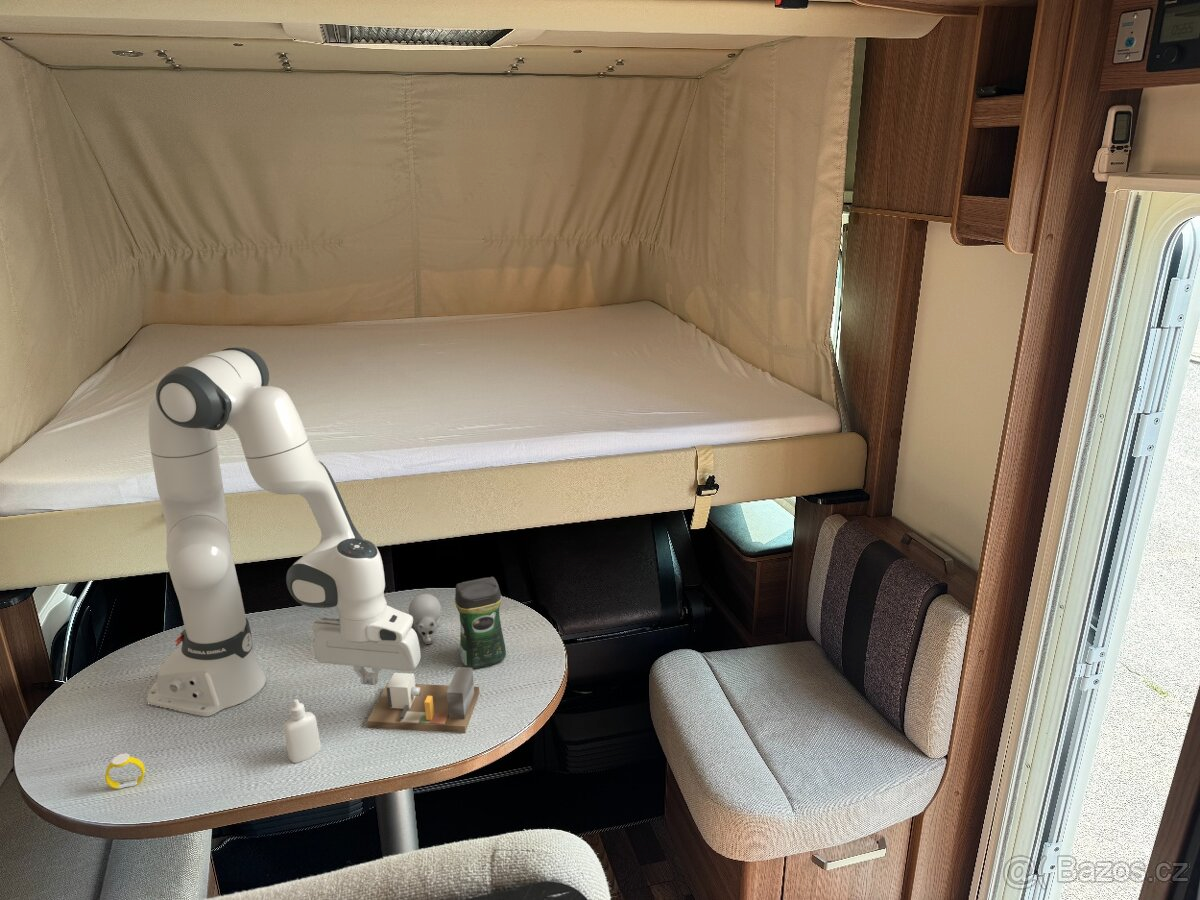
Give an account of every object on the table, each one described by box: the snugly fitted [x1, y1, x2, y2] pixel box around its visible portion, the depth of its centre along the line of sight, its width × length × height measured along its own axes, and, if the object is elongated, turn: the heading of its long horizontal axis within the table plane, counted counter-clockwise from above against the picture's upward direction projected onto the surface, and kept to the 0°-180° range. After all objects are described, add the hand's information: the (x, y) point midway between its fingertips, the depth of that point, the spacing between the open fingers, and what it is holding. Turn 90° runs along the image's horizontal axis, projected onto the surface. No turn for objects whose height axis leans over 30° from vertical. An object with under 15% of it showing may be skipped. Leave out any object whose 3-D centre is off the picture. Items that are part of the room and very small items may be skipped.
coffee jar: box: [454, 576, 507, 669], centre depth 181 cm, size 10×8×19 cm
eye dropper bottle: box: [283, 698, 322, 764], centre depth 155 cm, size 4×6×12 cm
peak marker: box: [424, 696, 434, 720], centre depth 163 cm, size 1×2×4 cm, turn 174°
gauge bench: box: [366, 666, 480, 734], centre depth 167 cm, size 19×12×8 cm, turn 85°
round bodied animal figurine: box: [408, 593, 442, 645], centre depth 192 cm, size 7×12×8 cm, turn 12°
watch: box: [104, 752, 146, 790], centre depth 149 cm, size 6×3×6 cm, turn 109°
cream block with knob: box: [387, 672, 421, 719], centre depth 165 cm, size 6×8×5 cm
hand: (369, 682), depth 166 cm, fingers closed
